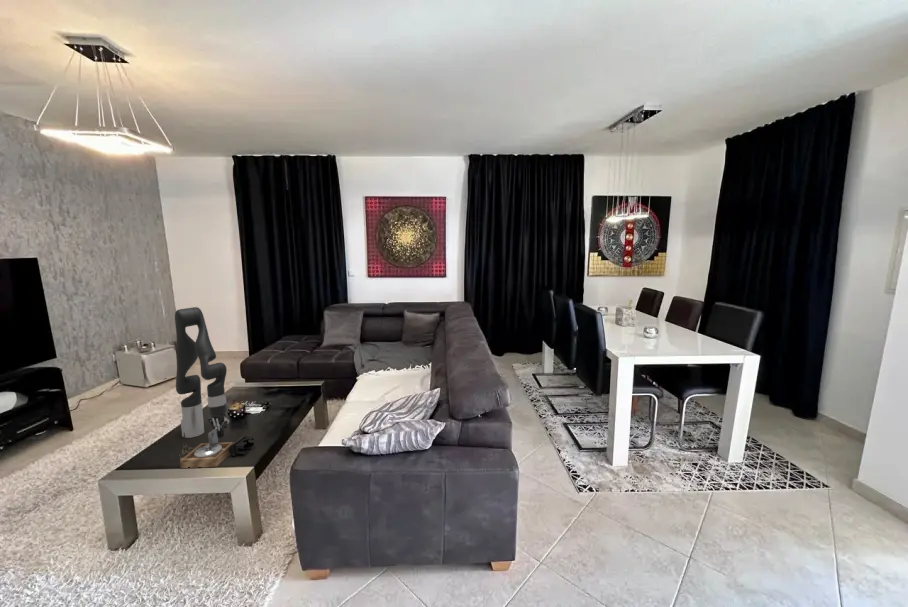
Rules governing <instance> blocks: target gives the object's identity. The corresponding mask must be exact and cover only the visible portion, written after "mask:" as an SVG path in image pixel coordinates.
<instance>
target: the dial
mask: <svg viewBox="0 0 908 607" xmlns="http://www.w3.org/2000/svg"><path fill="white" fill-rule="evenodd" d="M207 437H208V443H209V445H206V446H203V447H201V448H199V449H197V450H196V451H195V452H194V456H195V458H210V457H215V456H217V455H218V454H219V453H220V452H221V451H222V445H220V444H217V443H218V442H219V438H218V436H217V431H216V429H213V428H212V430H210V431H209V432H208V433H207Z"/></svg>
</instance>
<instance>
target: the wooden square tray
mask: <svg viewBox="0 0 908 607" xmlns="http://www.w3.org/2000/svg"><path fill="white" fill-rule="evenodd" d="M233 443H235V442H234V441H228V442H227V441H226V442H220V441H218V443H217V444H220V445H222V451H221V452H220V453H219V454H218V455H217V456H215V457H210V458H195V456H194V452H195V451H196V450H197V449H199V448H201V447H203V446H206V445H209V442H205V443H202V442H201V443H200V444H198V446H196V447H194V448H193V449H192V450H191V452H190V453H189V454H187V455H186V456H185V457H184V458H182V459H179V461H180V469H198V467H202V468H218V466H220V464H222V462H224V461H225V460H226V458H227V457H228V456H230V455H231V454H230V452H229V447H230V446H231V445H232V444H233ZM188 467H190V468H188Z"/></svg>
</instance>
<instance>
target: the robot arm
mask: <svg viewBox="0 0 908 607" xmlns="http://www.w3.org/2000/svg"><path fill="white" fill-rule="evenodd" d="M174 324H175V333H176V334H175V336H176V349H175V350H176V351H175V352H176V353H175V354H176V377H175V390H176V393H177V394H178V395H186V394H190V395H188V396H187V397H185V398H183V399H182V400H181V402H180V406H181V419H180V427H181V428H180V429H181V436H182V437H183V438H184V434H183V433H185V438H186V439H188V438H189V439H190V438H195V437H199V436H201V435H202V434H204V433H205V427H204V426H205V425H204V416H203V415H204V413H203V404H202V381H201V377H202V378H203V380H205V381H206V380H207V381H210V380H213V379H215V380H214V381H213V382H210V383H208V384H207V386H206V392H207V404H208V405H207V407H208V415H210V418H207V422H208V423H209V425H210V426H211V428H212V430H213V429H216V431H217V436H218V439H221V438H224V436H225V433H224V432H225V429H227V428H228V426H229V425H230V423H231V419H230V418H229V419H228V418H227V414H226V412H227V411H228V406H227V397H226V392H225V381H226V377H227V366H226V364H225V363H224V362H216V363H212V364H209V363H210V362H213V361H214V360H216V359H217V358H216V357H217V354H216V352H215V350H214V347H213V344H212V342H211V339H210V336H209V332H208V328H207V324H206V320H205V316H204V314H203V311H202V309H201V308H200V307H198V306H195V307H193V306H192V307H187V308H180V309H177V310H176V311H175V312H174ZM193 326H194V327H195V326H197V329H198V333H197V336H196V339H195V340H193V339H192V338H191V336H189V334H188V333H187V330H186V328H187V327H188V328H189V327H193ZM197 359H199V364H200V375H198V374H193V375H188V376H186V375H187V373H188V371H189V370H190V369H191V368H192V367H193V365H194V364H195V363H196V361H197Z"/></svg>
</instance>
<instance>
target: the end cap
mask: <svg viewBox="0 0 908 607" xmlns="http://www.w3.org/2000/svg"><path fill="white" fill-rule="evenodd" d="M251 441H252V442H251ZM254 441H255V437H254V436H247V434H243V435H242V436H241V437H240V438H238V439H237V440H236V441H235V442H234V443H233V444H232V445H231V446H230V447H229V452H230V455H231V456H233V457H235V458H243V457H246V456H247V455H248V454H249V453H250V452H251V451H253V450H254V449H255V442H254Z"/></svg>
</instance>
